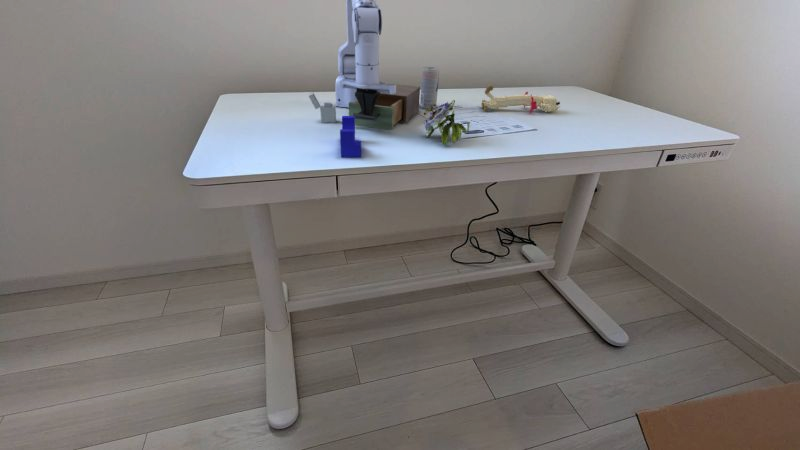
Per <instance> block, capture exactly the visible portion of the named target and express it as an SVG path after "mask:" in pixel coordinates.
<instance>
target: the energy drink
mask: <svg viewBox="0 0 800 450" xmlns="http://www.w3.org/2000/svg"><path fill="white" fill-rule="evenodd" d="M439 69H440V68H438V67H434V66H424V67H422V70H421V81H420V82H421V84H420V98H419V107H420V108H421V109H425V110H426V109H427V108H428V106H430V105H431V104H433V103H435V105H434V107H433V110H434V109H436V107H437V102H438V91H439V81H440V80H439V79H440V70H439Z"/></svg>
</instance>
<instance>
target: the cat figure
mask: <svg viewBox="0 0 800 450" xmlns="http://www.w3.org/2000/svg"><path fill="white" fill-rule="evenodd" d="M493 90H494V86H493V85H492V84H488V86H487V87H486V88H485V90H484V95H486V97H487V98H488V97H489V100H486V99H485V98H484V99H481V109H483V112H488V109H489V108H490V110H498V109H501V108H508V107H521V106H523V108H524V109H523V110H526V107H530V110H529V111H528V113H529V114H531V113H532V112H533V111H534V110H537V109H538V108H539V109H541V111H543V112H545V113H547V112H548V113H549V112H554V111H558V109H559V108H561V106H560V105H561V102H560V101H559V100H558V99H557V98H556V97H555V96H553V95H551V94H544V95H543V94H542V95H538V94H535V95H534V94H530V95H529V91H525V93H524V94H512V95H503V96H494V95H493V94H492V93H491V91H493Z"/></svg>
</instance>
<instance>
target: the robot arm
mask: <svg viewBox="0 0 800 450" xmlns="http://www.w3.org/2000/svg"><path fill="white" fill-rule="evenodd" d="M345 17H346V21H345V22H346V41H345V43H343V44H342V45H341V46H340V47H339V48H338V50H337V66H338V67H337V70H338V73H339V75H338V76H337V77H336V79H335V84H334V87H335V88H334V89H335V104H334V106H335V107H340V108H348V109H349V102H355V101H357V100H358V102H359V104H360V107H361V110H362V113H363V114H365V115H372V113H373V109H374V106H375V103H376V101H377V98H378V96H379V95H380V92H383V93H390V94H395V93H396V85H393V84H394V83H389V82H388V83H387V82H382V81H380V36H381V34H382V30H383V14H382V9H381V6H380V5H379V4H377V0H345Z"/></svg>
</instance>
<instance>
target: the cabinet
mask: <svg viewBox="0 0 800 450" xmlns="http://www.w3.org/2000/svg"><path fill="white" fill-rule="evenodd" d="M392 84H393V85H396V93H395V94H390V93H383V92H380V95H379V96H383V97H391V98H400V99H404V113H403V118H402V119H401V120H399V121H398V122H397V123H399V124H407V123H408V122H409V121H410V120H411V119H412V118H413V117H415V116H416V115H417V114H418V113H419V112H420V98H421V86H416V85H415V86H414V85H405V84H397V83H392Z"/></svg>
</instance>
